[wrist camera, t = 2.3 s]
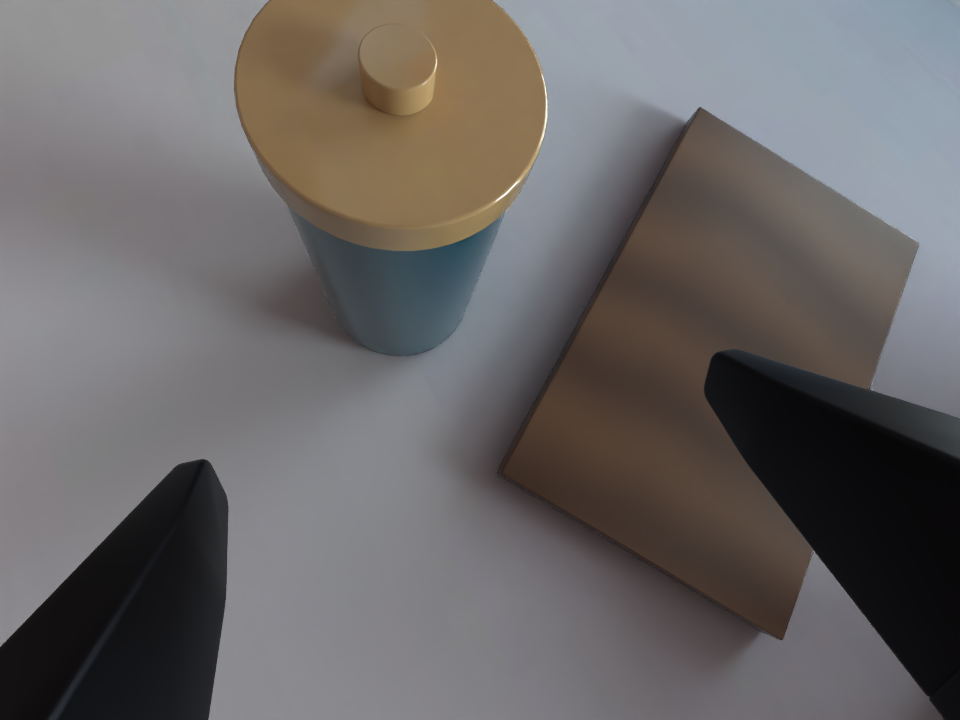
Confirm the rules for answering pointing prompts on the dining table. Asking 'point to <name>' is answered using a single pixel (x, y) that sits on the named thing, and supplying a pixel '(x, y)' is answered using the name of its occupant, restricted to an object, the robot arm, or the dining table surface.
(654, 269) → the board
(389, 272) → the canister
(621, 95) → the dining table surface
